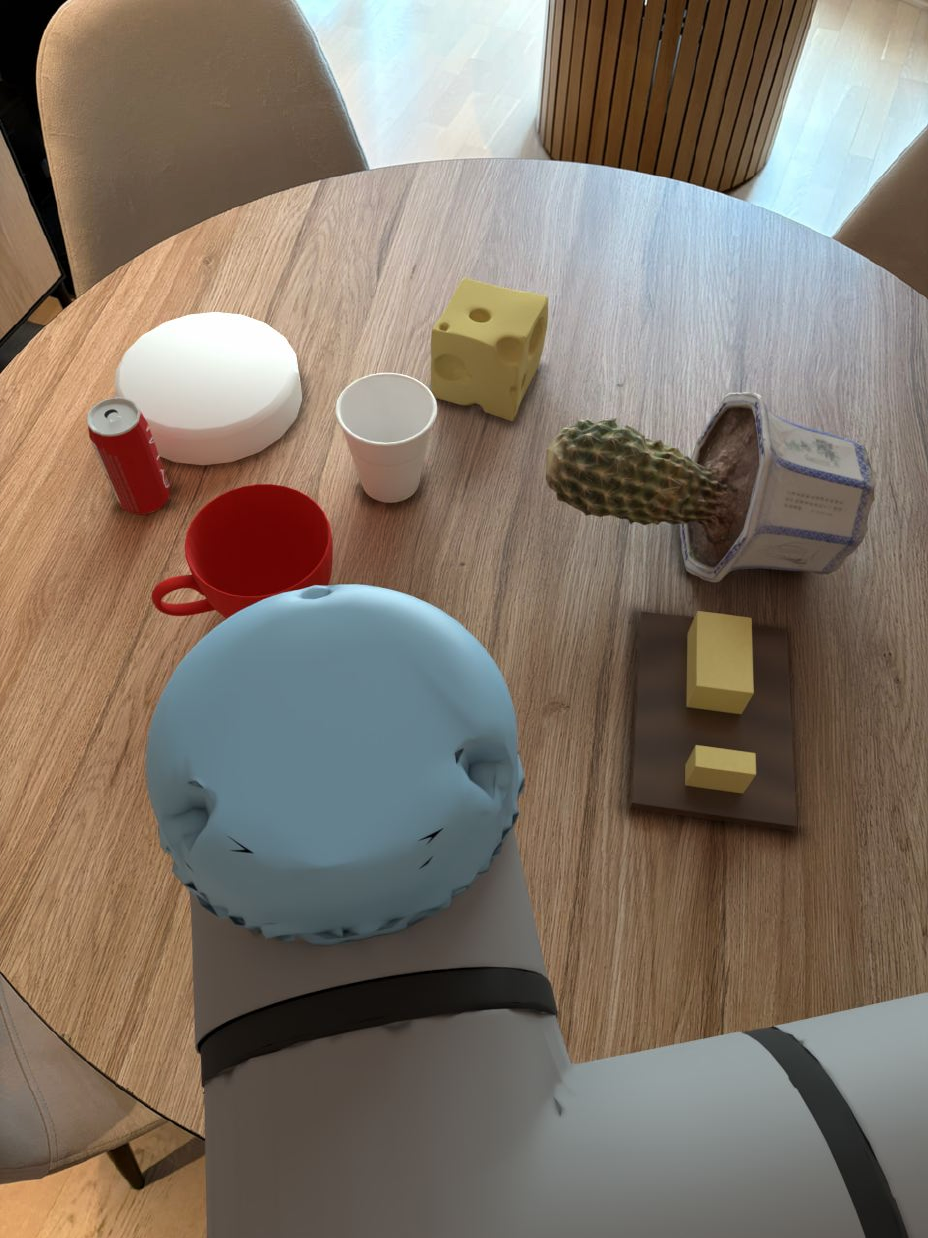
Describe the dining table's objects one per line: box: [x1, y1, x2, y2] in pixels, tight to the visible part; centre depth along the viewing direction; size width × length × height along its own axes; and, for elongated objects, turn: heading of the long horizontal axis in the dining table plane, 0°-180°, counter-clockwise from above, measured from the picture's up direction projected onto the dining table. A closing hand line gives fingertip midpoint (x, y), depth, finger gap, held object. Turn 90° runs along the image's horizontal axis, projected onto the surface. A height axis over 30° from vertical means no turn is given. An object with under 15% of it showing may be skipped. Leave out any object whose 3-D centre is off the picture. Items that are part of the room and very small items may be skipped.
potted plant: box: [545, 391, 877, 583], centre depth 90 cm, size 18×18×30 cm
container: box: [113, 311, 303, 466], centre depth 106 cm, size 20×20×5 cm
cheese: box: [430, 276, 549, 422], centre depth 106 cm, size 10×11×10 cm
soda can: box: [86, 396, 172, 515], centre depth 95 cm, size 6×6×12 cm
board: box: [629, 610, 798, 832], centre depth 87 cm, size 20×14×1 cm
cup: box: [334, 372, 438, 504], centre depth 97 cm, size 10×10×11 cm
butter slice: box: [685, 745, 756, 794], centre depth 81 cm, size 2×5×4 cm, turn 82°
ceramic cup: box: [151, 483, 334, 620], centre depth 88 cm, size 13×17×10 cm
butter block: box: [686, 610, 754, 714], centre depth 87 cm, size 8×5×4 cm, turn 172°
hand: (396, 1043), depth 49 cm, fingers open, 13 cm apart
